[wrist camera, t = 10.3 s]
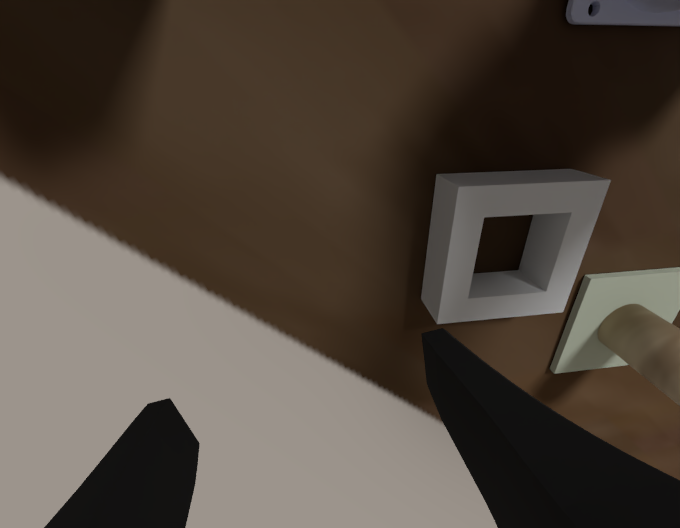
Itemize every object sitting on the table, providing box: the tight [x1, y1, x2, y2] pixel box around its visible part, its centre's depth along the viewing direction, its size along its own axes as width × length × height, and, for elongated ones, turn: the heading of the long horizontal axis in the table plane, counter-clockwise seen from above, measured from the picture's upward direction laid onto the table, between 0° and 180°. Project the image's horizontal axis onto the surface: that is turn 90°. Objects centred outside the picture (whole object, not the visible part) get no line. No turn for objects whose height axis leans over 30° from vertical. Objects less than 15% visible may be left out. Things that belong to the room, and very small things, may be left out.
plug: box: [597, 304, 680, 406], centre depth 21 cm, size 4×4×6 cm
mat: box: [550, 267, 680, 374], centre depth 24 cm, size 8×8×1 cm
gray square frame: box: [421, 169, 611, 324], centre depth 18 cm, size 8×8×2 cm
